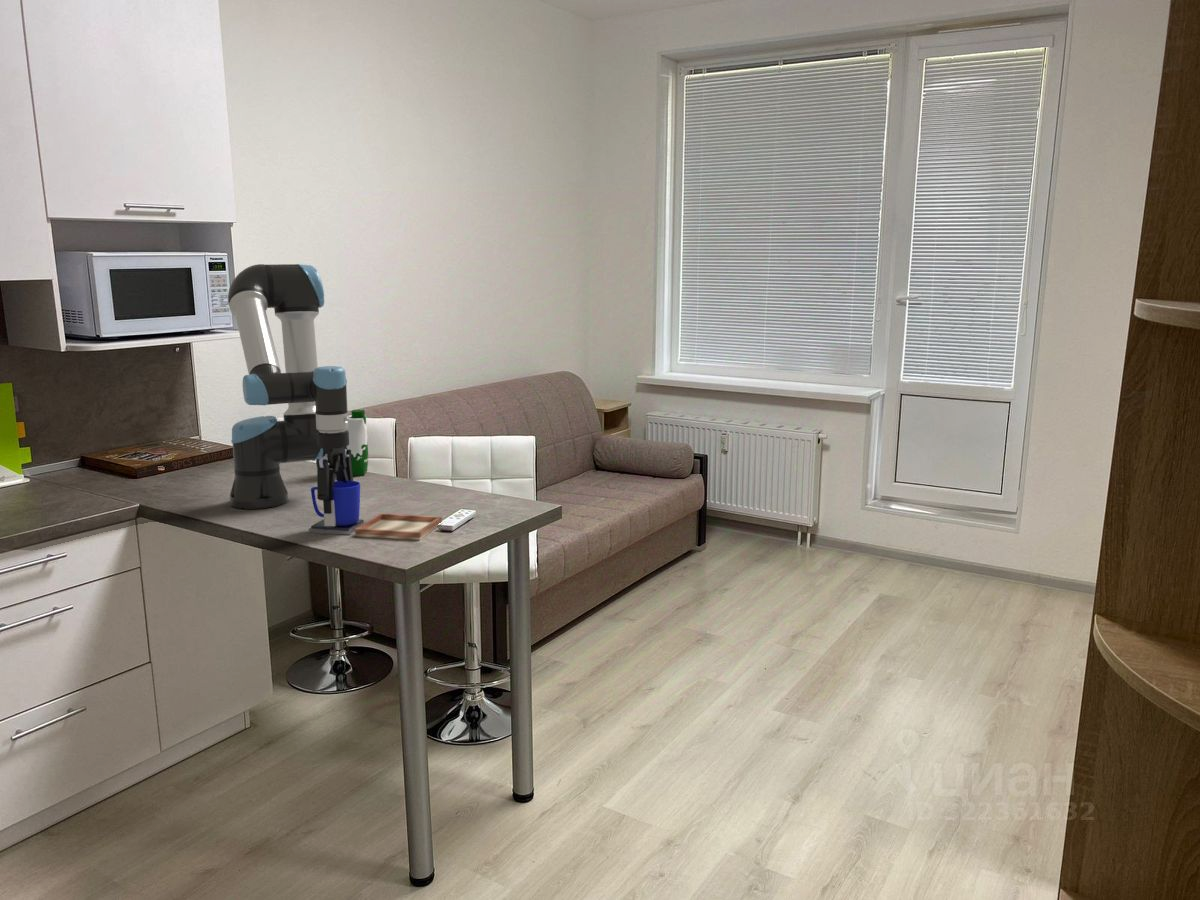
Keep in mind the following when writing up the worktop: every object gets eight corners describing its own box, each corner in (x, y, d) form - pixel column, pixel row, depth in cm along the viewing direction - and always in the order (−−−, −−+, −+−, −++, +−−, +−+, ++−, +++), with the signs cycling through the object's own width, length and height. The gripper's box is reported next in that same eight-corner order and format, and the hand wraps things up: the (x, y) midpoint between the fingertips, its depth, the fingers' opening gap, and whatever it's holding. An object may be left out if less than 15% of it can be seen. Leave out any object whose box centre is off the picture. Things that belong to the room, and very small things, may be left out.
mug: (318, 518, 230) (316, 479, 228) (366, 519, 230) (364, 480, 228) (307, 527, 222) (305, 487, 220) (356, 528, 222) (354, 488, 220)
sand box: (355, 536, 220) (354, 528, 220) (380, 520, 234) (380, 513, 234) (420, 540, 217) (419, 532, 217) (442, 523, 231) (441, 516, 231)
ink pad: (308, 532, 223) (308, 526, 223) (326, 522, 232) (325, 516, 232) (350, 534, 221) (349, 529, 221) (366, 524, 230) (366, 519, 230)
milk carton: (366, 476, 283) (363, 412, 279) (336, 476, 282) (333, 413, 278) (370, 470, 292) (367, 408, 288) (341, 470, 291) (338, 408, 287)
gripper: (327, 438, 212) (332, 533, 216) (365, 424, 231) (369, 512, 235) (297, 436, 213) (303, 531, 217) (337, 423, 232) (342, 510, 237)
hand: (337, 521), depth 226 cm, fingers closed on mug, 7 cm apart
